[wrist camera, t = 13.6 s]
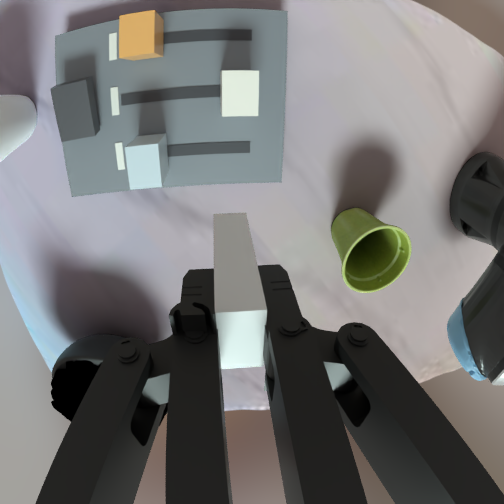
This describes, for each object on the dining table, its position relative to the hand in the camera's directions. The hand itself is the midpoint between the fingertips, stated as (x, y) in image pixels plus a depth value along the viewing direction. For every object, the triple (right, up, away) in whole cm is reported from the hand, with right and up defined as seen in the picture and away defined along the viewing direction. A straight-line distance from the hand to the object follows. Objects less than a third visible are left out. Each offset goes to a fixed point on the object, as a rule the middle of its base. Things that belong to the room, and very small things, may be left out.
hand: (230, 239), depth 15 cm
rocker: (-16, +13, +9) cm, 23 cm away
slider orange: (-9, +20, +8) cm, 23 cm away
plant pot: (+15, +3, +26) cm, 30 cm away
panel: (-8, +16, +14) cm, 23 cm away
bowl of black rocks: (-22, -18, +34) cm, 44 cm away
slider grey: (-9, +9, +14) cm, 19 cm away
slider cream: (-1, +15, +12) cm, 19 cm away
